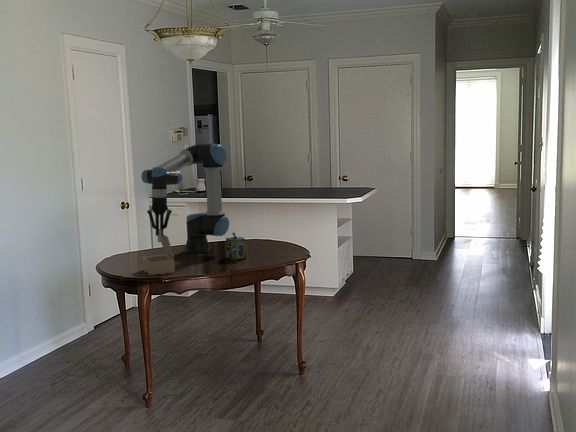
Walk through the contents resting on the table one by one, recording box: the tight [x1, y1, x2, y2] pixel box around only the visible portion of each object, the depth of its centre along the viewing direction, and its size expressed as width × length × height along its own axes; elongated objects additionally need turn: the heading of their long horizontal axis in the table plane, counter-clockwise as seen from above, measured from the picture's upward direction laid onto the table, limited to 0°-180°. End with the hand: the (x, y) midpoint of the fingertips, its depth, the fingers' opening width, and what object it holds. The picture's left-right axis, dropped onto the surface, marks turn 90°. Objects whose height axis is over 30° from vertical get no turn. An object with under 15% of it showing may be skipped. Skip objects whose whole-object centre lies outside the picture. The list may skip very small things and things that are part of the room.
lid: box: [160, 234, 175, 259], centre depth 330 cm, size 15×11×1 cm
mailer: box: [141, 254, 176, 276], centre depth 329 cm, size 15×13×7 cm
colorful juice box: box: [225, 231, 247, 261], centre depth 358 cm, size 9×9×15 cm
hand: (159, 241), depth 328 cm, fingers closed
